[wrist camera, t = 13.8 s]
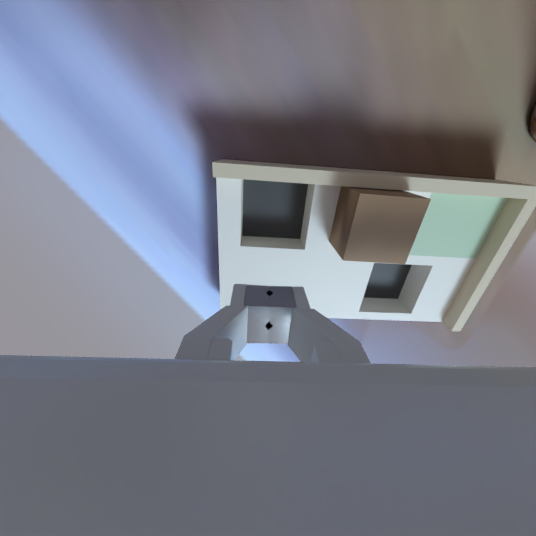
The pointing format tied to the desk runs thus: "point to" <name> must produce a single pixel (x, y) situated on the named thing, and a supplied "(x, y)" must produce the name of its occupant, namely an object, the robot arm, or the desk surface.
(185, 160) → the desk surface
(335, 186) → the board
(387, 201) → the walnut block
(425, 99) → the desk surface
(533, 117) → the sauce bottle
